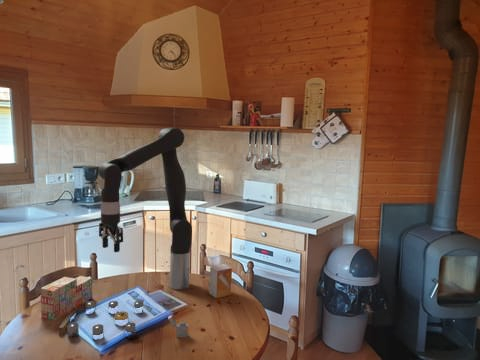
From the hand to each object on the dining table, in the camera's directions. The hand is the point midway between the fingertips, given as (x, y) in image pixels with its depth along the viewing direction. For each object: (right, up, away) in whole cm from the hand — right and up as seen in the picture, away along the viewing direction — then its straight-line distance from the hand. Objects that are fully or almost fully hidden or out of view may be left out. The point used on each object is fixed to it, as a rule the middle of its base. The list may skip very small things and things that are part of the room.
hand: (110, 249), depth 155 cm
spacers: (+4, -26, -14) cm, 30 cm away
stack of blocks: (-17, -24, -3) cm, 29 cm away
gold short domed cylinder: (+9, -26, -13) cm, 30 cm away
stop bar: (-11, -25, -15) cm, 31 cm away
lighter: (+31, -28, -21) cm, 47 cm away
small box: (+45, -24, +16) cm, 53 cm away
